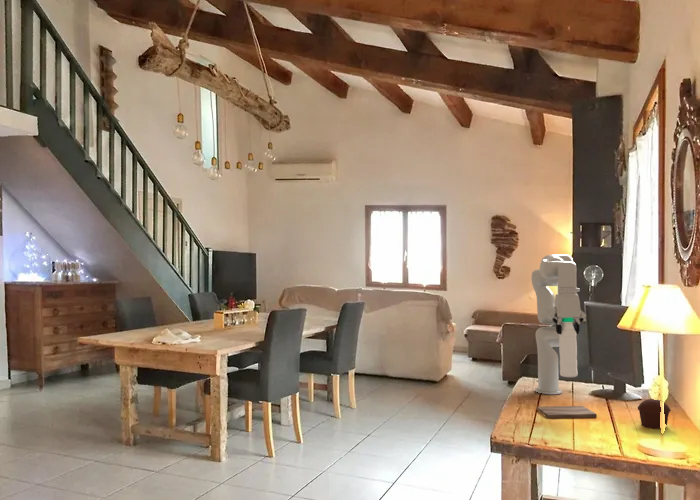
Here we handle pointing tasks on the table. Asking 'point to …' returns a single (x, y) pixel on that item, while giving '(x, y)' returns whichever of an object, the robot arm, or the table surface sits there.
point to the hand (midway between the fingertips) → (567, 333)
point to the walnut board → (566, 412)
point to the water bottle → (568, 349)
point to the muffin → (652, 413)
